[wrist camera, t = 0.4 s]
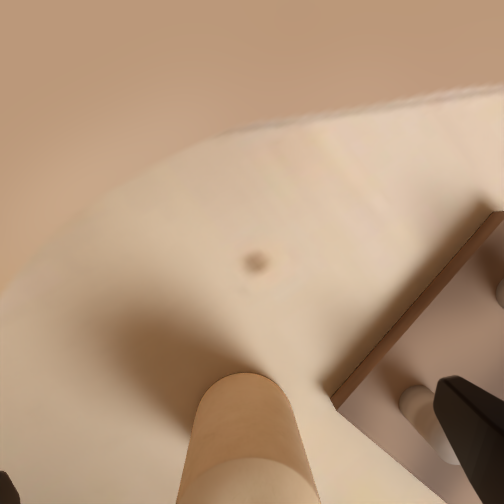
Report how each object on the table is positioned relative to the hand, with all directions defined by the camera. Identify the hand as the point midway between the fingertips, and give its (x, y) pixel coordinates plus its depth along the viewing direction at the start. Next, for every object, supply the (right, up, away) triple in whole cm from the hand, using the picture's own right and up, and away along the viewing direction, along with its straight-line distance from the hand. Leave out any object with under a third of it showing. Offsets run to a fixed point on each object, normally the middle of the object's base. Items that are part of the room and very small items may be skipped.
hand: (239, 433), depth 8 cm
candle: (0, -6, +15) cm, 16 cm away
